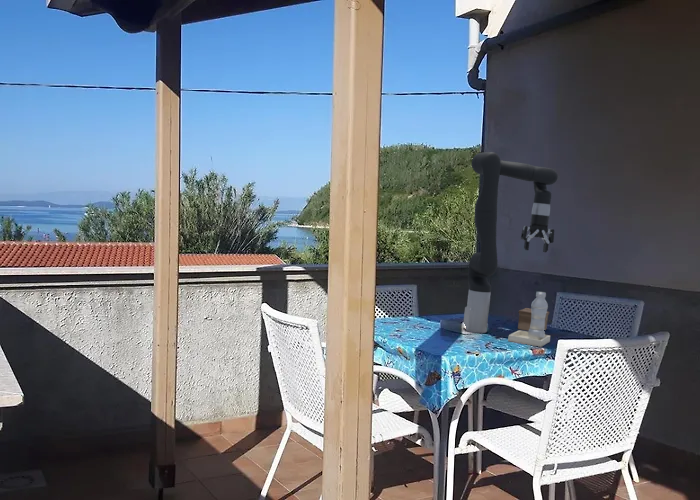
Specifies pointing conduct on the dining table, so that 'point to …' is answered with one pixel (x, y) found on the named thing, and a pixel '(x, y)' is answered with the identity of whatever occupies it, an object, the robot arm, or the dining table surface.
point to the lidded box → (527, 319)
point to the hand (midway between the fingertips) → (535, 251)
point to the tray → (527, 339)
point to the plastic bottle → (538, 317)
